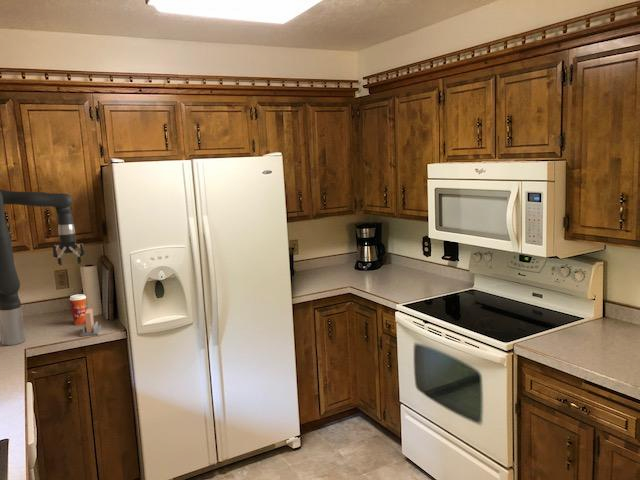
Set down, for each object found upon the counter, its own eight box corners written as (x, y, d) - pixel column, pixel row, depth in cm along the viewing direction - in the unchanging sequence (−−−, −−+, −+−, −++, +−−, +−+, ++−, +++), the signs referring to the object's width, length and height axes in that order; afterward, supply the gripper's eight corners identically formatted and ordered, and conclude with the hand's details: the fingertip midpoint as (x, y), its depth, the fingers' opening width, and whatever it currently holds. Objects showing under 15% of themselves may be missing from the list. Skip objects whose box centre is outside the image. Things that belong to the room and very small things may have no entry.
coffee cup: (77, 326, 280) (74, 298, 278) (69, 323, 285) (66, 296, 283) (91, 322, 287) (89, 295, 284) (83, 319, 292) (81, 293, 289)
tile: (91, 332, 266) (90, 313, 264) (86, 333, 265) (84, 313, 263) (94, 327, 274) (92, 308, 273) (89, 327, 274) (87, 308, 272)
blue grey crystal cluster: (80, 336, 263) (79, 330, 262) (84, 328, 275) (83, 322, 274) (97, 335, 265) (96, 328, 264) (101, 327, 277) (100, 320, 276)
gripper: (49, 234, 262) (53, 267, 265) (80, 233, 266) (83, 264, 268) (53, 233, 270) (56, 264, 272) (83, 231, 273) (86, 262, 276)
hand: (70, 264), depth 270 cm, fingers open, 8 cm apart
